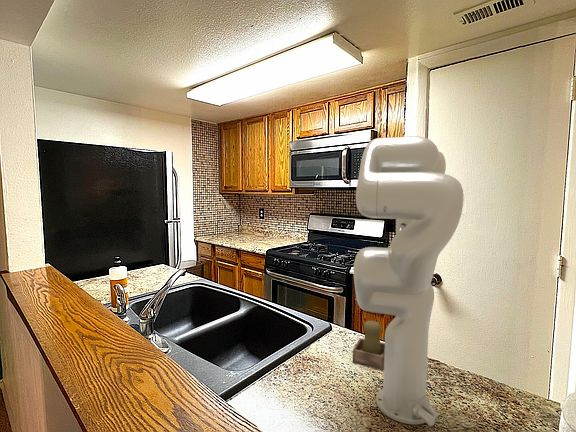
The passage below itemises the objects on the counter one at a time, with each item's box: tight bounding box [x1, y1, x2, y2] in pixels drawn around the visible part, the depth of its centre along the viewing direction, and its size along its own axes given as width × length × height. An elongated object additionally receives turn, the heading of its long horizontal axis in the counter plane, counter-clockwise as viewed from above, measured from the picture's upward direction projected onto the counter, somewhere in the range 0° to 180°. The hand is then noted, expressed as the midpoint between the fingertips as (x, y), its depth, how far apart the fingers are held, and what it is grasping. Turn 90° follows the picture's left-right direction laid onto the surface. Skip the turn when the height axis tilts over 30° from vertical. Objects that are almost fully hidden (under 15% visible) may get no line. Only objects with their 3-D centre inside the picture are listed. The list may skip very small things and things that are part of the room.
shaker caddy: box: [352, 338, 385, 371], centre depth 96 cm, size 9×9×4 cm
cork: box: [362, 320, 382, 355], centre depth 96 cm, size 6×6×11 cm
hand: (404, 256), depth 95 cm, fingers open, 9 cm apart
